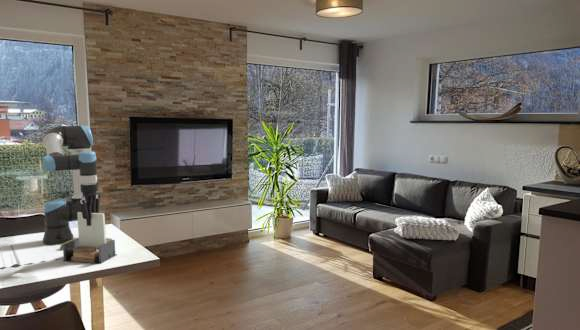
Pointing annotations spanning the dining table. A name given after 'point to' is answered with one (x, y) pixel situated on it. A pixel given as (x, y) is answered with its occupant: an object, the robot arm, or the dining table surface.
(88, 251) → the offcut top
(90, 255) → the offcut middle
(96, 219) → the sheet
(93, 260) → the offcut bottom
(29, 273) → the dining table surface
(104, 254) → the rack
